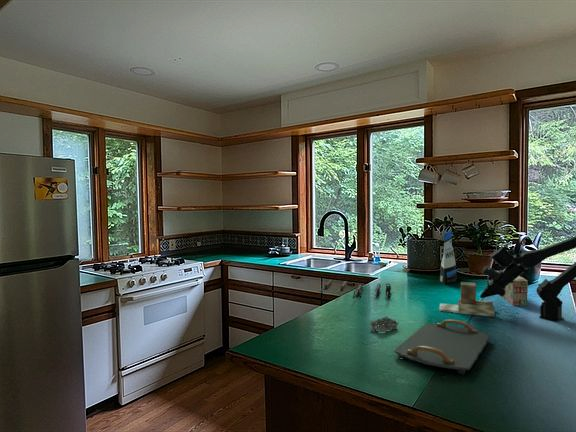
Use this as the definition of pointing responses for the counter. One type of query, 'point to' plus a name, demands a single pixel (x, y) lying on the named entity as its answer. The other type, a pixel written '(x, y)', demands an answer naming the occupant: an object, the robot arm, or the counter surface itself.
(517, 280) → the stack of blocks
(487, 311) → the chute
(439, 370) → the counter surface
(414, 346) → the serving board
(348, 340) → the counter surface
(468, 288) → the walnut block
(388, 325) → the bumpy grey rock
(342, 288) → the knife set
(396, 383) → the counter surface
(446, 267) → the protein powder
